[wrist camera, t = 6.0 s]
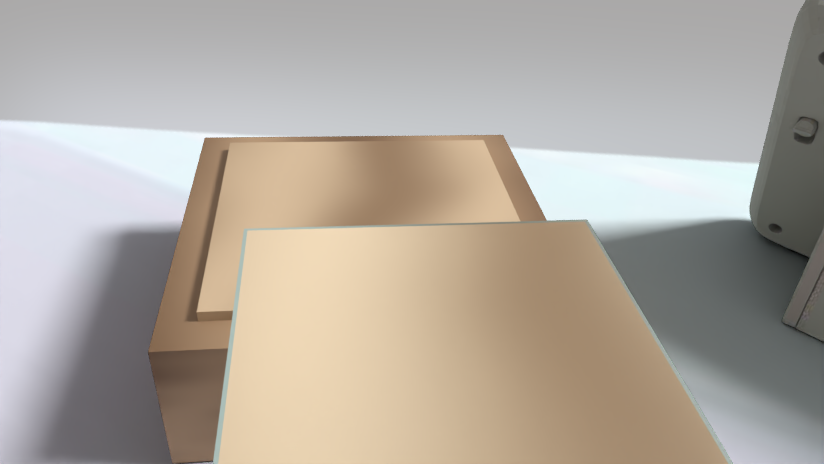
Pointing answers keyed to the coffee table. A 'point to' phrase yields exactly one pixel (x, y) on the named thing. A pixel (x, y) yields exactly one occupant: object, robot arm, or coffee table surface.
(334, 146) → the base
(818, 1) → the digital clock
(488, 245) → the pillar
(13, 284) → the coffee table surface
